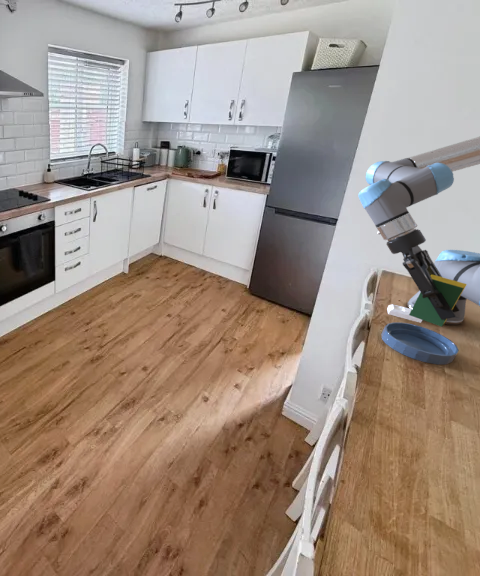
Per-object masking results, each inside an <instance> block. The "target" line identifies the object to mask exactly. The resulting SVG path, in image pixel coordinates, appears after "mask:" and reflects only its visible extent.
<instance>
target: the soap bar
mask: <svg viewBox="0 0 480 576" xmlns="http://www.w3.org/2000/svg"><path fill="white" fill-rule="evenodd" d="M386 310H387V315H390V316H394V317H397V318H401V319H405V320H409V321H412V322H416V323H420V324H421V323H422V322H423V320H421V319H419V318H416V317H413V316H410V315H409V314H410V312H411V310H412V309H409V308H407V307H406V306H400V305H397V304H389V305H388V306H387V309H386Z"/></svg>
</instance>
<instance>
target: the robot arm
mask: <svg viewBox="0 0 480 576" xmlns="http://www.w3.org/2000/svg"><path fill="white" fill-rule="evenodd" d="M478 165H480V136H477V137H474V138H470V139H467V140H463V141H460V142H457V143H453V144H450V145H446V146H443V147H440V148H436V149H432V150H429V151H425V152H423V153H419V154H416V155H413V156H409V157H406V158H401V159H398V160H395V161H389V160H379V161H377V162H374V163H373V164H371V165H370V166H369V167H368V169H367V171H366V173H365V181H366V183H367V184H368V186H366V187H364V188H363V189H361V190H360V191H359V192H358V195H357V196H358V199H359V201H360V203H361V205H362V207H363V209H364V210H365V212H366V213H367V214H368V216H369V218H370V220H371V221H372V223H373V224H374V226H375V227H376V229H377V231H376V232H377V235H381V237H382V239H383V241H387V242H386V246H387V248H388V249H389V251H390V253H391V254H393V255H397V254H399V253H401V254H402V256H403V259H402V260H403V262H402V266H403V267H404V268H405V269H406V271H407V272H408V274H409V275H410V277H411V279H412V281H413V282H414V284H415V285H416V287H417V288H418V291H417V292H416V293H414V295H413V296H412V297H411V298H409V300H408V301H407V302H406V308H409V309H412V308H413V306H414V304H415V302H416V300H417V298H418V296H419V294H420V292H421V293H422V295H423V296H422V297H423V298H426V297H428V299H429V300H430V302H431V304H432V305H433V307H434V308H435V310H436V312H437V313H438V315H439V317H440V318H441V320H444V319H447V320H446V322H445V323H444V324H443V325H448V326H449V325H450V326H457V325H461V324H462V323H463V321H464V319H465V315H466V303H467V300H468V301H470V302H471V303H473V304H476V305H477V306H479V307H480V253H479V252H475V251H468V250H462V249H461V250H460V249H445V250H442V251H441V252H440V253H439V255H438V256H437V258H436V259H435V260H434V261H433V260H432V258H431V256H430V254H429V251H428V250H427V249H423V250H422V248H421V246H420V245H422V244H424V243H426V241H427V239H426V237H425V236H424V233H422V231H421V229H419V228H417V227H418V224H417V223H416V221H415V220H414V218H413V217H412V215H411V213H410V212H409V210H408V209H407V208H409V207H411V206H413V205H416V204H417V203H420V202H422V201H425V200H427V199H429V198H431V197H434V196H437V195H439V194H440V193H442V192H444V191H446V190H448V189H450V188H451V187H452V185H453V184H454V182H455V177H454V173H453V172H456V171H460V170H463V169H466V168H467V169H468V168H470V167H474V166H478ZM431 275H436V276H440V277H443V278H447V279H450V280H454V281H457V282H461V283H464V284H467V285H466V287H465V288H464V290H463V292H462V294H461V295H460V297H459V299H458V301H457V302H456V304H455V306H454V308H453V309H451V308H450V306H449V305H448V303H447V301H446V300H445V298H444V296H443V295H442V293H439V291H438V289H437V288H436V286H435V284H434V282H433V280H432V278H431ZM427 290H428V291H427Z"/></svg>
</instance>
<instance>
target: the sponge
mask: <svg viewBox="0 0 480 576" xmlns="http://www.w3.org/2000/svg"><path fill="white" fill-rule="evenodd" d="M431 278H432V280H433V282H434V284H435V286H436V288H437V289H438V291H439V293H442V295H443V296H444V298H445V300H446V301H447V303H448V305H449V306H450V308H451V309H453V308H454V306H455V304H456V302H457V301H458V299H459V297H460V295H461V294H462V292H463V290H464V288H465V287H466V285H467V284H464V283H461V282H457V281H454V280H450V279H447V278H443V277H440V276H436V275H431ZM427 291H428V290H427ZM422 296H423V295H422V293H421V292H420V294H419V296H418V298H417V300H416V302H415V304H414V306H413V308H412V310H411V312H410V314H409V315H410V316H413V317H416V318H419V319H421V320H422V321H424V322H427V323H431V324H433V325H435V326H438V327H443V326H444V325H445V324H444V323H445V322H446V320H447V319H444V320H441V318H440V317H439V315H438V313H437V312H436V310H435V308H434V307H433V305H432V304H431V302H430V300H429V299H428V297H426V298H423V297H422Z"/></svg>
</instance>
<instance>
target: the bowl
mask: <svg viewBox="0 0 480 576" xmlns="http://www.w3.org/2000/svg"><path fill="white" fill-rule="evenodd" d="M381 340H382V341H383V342H384V343H385V345H387V346H388V347H390V348H391V349H392V350H394V351H395V352H397V353H400V354H401V355H404V356H405V357H408V358H410V359H412V360H416V361H420V362H422V363H426V364H431V365H432V364H433V365H448V364H451V363H453V361H454V360H455V358H456V357H457V355H458V353H459V348H458V346H457V344H455V343H454V342H453V341H452V340H451V339H449V338H448V337H446V336H444V335H443V334H440V333H439V332H437V331H434V330H433V329H429V328H426V327H424V326H421V325H416V324H412V323H408V322H401V321H397V322H396V321H395V322H393V321H392V322H389V323H387V324H385V326H384V328H383V330H382V332H381Z"/></svg>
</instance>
